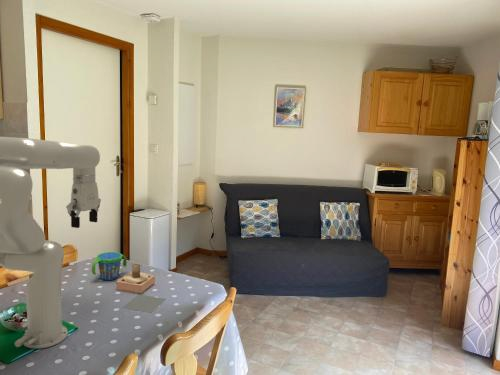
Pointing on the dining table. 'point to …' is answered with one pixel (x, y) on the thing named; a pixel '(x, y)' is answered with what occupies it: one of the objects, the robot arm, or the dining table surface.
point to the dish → (135, 285)
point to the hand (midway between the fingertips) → (84, 224)
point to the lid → (136, 275)
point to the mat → (144, 303)
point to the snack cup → (109, 265)
